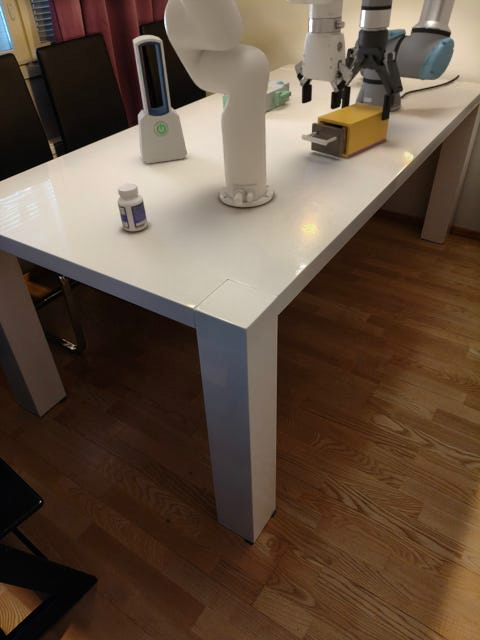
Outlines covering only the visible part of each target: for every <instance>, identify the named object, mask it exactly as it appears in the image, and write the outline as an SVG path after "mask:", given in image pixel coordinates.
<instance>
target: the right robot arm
mask: <svg viewBox="0 0 480 640" xmlns="http://www.w3.org/2000/svg"><path fill="white" fill-rule="evenodd" d="M455 1H456V0H423V3H422V8H421V12H420V16H419V19H418V22H417V23H416V24H414V25H413V26H412V27H411V30H410V34H408V35H407V31H406V29H405V28H396V29H387V28H389V27H390V24H391V23H390V22H391V16H392V8H393V0H361V7H360V15H359V24H358V26H359V28H360V29H359V31H358V35H357V39H358V46H359V47H358V49H356V47H355V46H354V47H350V48H348V49H347V51H346V55H345V66H346V67H347V68H348V69H350V67H351V65H352V63H353V61H354V59H355V57H356V55H357V58H358V61H357V62H356V63H355V65H354V66H353V68H352V69H351V70H350V71H351V72H352V73H353V76H352V77H351V79H350V81H349V83H348V85H347V86H346V87H345V88H344V90H342V97H341V105H340V109H342V108H344V107H347V106H350V101H351V89H352V86H351V85H350V84H351V83H352V81H354V79H355V78H356V76H358V74H359V73H360V70H361V69H362V68H363V69H364V75H363V76H362V84H361V87H360V89H359V92H358V93H357V97H356V100H355V103H363V104H368V105H373V106H379V107H383V111H382V118H381V120H382V121H384V120H387V119H390V116H391V113H395V112H398V111H399V110H400V109H401V107H402V99H403V98H404V97H406V95H408V94H412V93H417V92H423V91H427V90H432V89H437V88H440V87H443V86H446V85H449V84H452V82H454V81H456V80H457V79H458V78H459V77H460V74H458V75H457V76H455V77H454V78H452V79H450V80H448V81H446V82H443V83H440V84H436V85H432V86H427V87H422V88H418V89H413V90H409V91H406V92H404V93H403V94H402V95H401V92H403V91H404V87H403V82H402V79H401V78H405V79H413V80H414V79H415V80H421V81H436V80H438V79H439V78H441V77H442V76H443V74H444V73H445V72H446V70H447V69H448V67H449V66H450V63H451V61H452V58H453V55H454V51H455V49H454V48H455V40H454V38H452V37H451V35H452V30H451V28H450V26H449V24H450V20H451V16H452V13H453V9H454V5H455ZM343 78H344V77H343ZM343 78H341V80H343ZM336 83H337V82H336Z"/></svg>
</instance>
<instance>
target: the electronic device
mask: <svg viewBox="0 0 480 640" xmlns="http://www.w3.org/2000/svg"><path fill="white" fill-rule="evenodd" d="M163 42H164V41H163V40H162V39H161V38H160V37H159V36H155V35H152V34H143V35H139V36H137V37H135V38H133V39H132V45H133V50H134V57H135V64H136V70H137V77H138V82H139V88H140V93H141V94H140V95H141V100H142V108H143V109H141V110H140V111H139V113H138V114H137V123H138V125H137V126H138V139H139V151H140V152H139V153H140V155H141V159H142V160H143V161H144V162H145V163H146V164H148V165H149V164H154V163H162V162H163V163H164V162H170V161H177V160H183V159H185V158H186V157H187V154H188V151H187V146H186V142H185V137H184V132H183V128H182V124H181V123H182V122H181V118H180V115H179V114H178V112H177V111H176V110H175V109H174V108H173V107H172V104H171V97H170V96H171V95H170V87H169V80H168V73H167V65H166V64H167V63H166V58H165V49H164V43H163ZM146 45H155V52H156V60H157V65H158V66H157V68H158V74H159V83H160V89H161V98H162V104H163V105H161V106H160V107H151V106H150V105H151V104H150V99H149V92H148V86H147V79H146V71H145V67H144V66H145V65H144V60H143V59H144V58H143V53H142V47H143V46H146Z"/></svg>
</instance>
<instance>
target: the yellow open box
mask: <svg viewBox="0 0 480 640" xmlns="http://www.w3.org/2000/svg"><path fill="white" fill-rule="evenodd" d="M382 111H383V107H379V106H373V105H368V104H363V103H356V102H355V103H352V104H349V106H347V107H344V108H342V109H341V108H338V109H335V110H333V111H331V112H328V113H326V114H323V115H320V116H317V123H318V124H320V123H321V122H328V123H332V124H337V125H341V126H346V127H348V131H347V143H346V152H344V153H342V156H341V158H346V159H349V158H352V157H354V156H356V155H359V154H361V153H362V152H364V151H367V150H369V149H371V148H374V147H376V146H378V145H381V144H382V143H384V142H387V134H388V128H389V119H390V118H389V119H387V120H384V121H382V120H381V118H382Z"/></svg>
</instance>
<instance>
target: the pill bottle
mask: <svg viewBox="0 0 480 640" xmlns="http://www.w3.org/2000/svg"><path fill="white" fill-rule="evenodd" d="M117 193H118V196H119V197H118V199H117V206H118V210H119V211H118V212H119V215H120V219H121V224H122V227H123V229H124V230H125V231H128V232H138V231H141V230H144V229H146V227H147V226H148V217H147V214H146V208H145V203H144V198H143V196H142V195H141V194H139V188H138V185H137V184H135V183H132V182H131V183H123V184H121V185H119V186H118V187H117Z"/></svg>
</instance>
